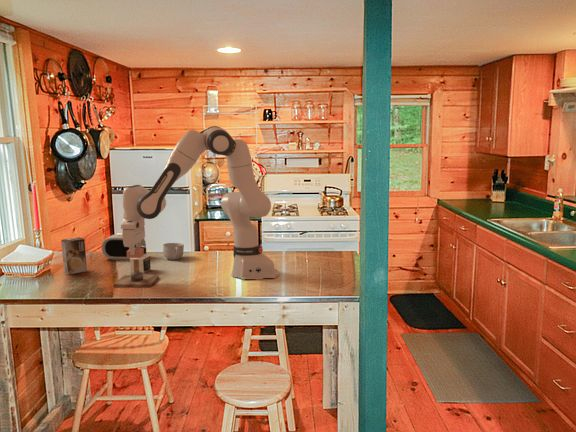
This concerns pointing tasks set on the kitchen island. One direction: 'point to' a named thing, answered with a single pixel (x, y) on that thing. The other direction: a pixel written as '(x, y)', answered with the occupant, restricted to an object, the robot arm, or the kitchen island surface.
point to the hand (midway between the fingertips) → (135, 252)
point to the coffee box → (74, 255)
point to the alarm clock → (116, 247)
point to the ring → (136, 253)
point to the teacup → (173, 250)
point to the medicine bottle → (141, 262)
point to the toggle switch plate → (136, 278)
